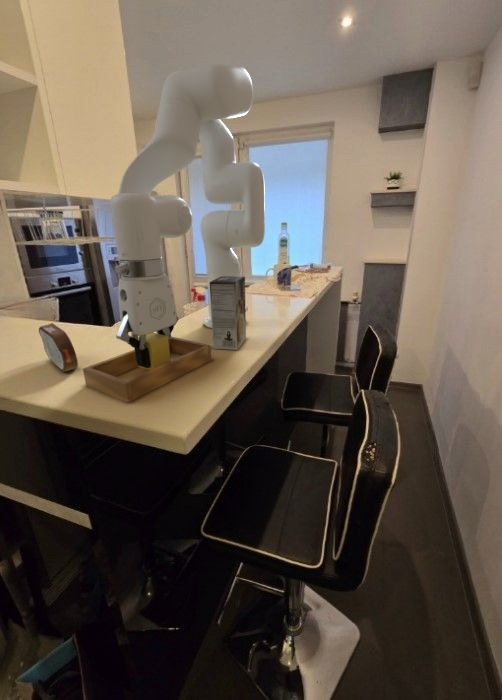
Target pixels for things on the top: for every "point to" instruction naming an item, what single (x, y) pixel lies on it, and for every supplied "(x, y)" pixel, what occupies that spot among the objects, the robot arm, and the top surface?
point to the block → (157, 350)
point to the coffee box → (228, 312)
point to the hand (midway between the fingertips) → (154, 360)
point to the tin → (58, 347)
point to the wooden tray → (105, 372)
